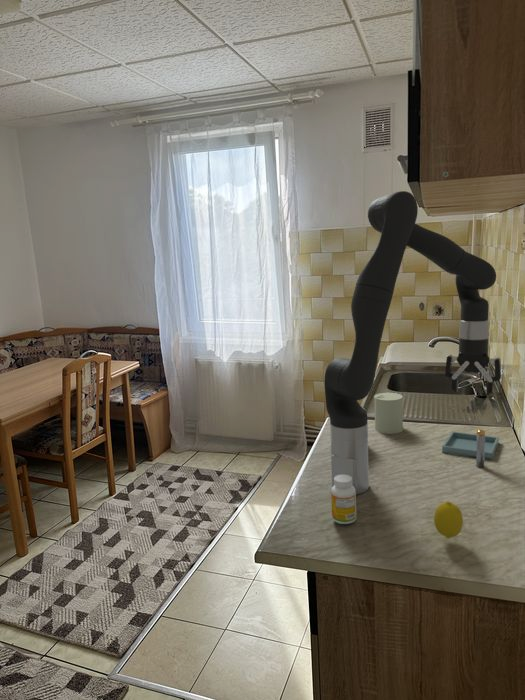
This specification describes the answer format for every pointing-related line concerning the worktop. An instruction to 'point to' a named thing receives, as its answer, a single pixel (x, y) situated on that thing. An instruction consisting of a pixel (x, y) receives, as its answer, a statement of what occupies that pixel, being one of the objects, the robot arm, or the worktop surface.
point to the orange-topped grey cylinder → (480, 448)
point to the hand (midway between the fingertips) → (472, 393)
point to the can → (388, 413)
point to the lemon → (448, 519)
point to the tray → (469, 445)
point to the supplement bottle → (343, 500)
